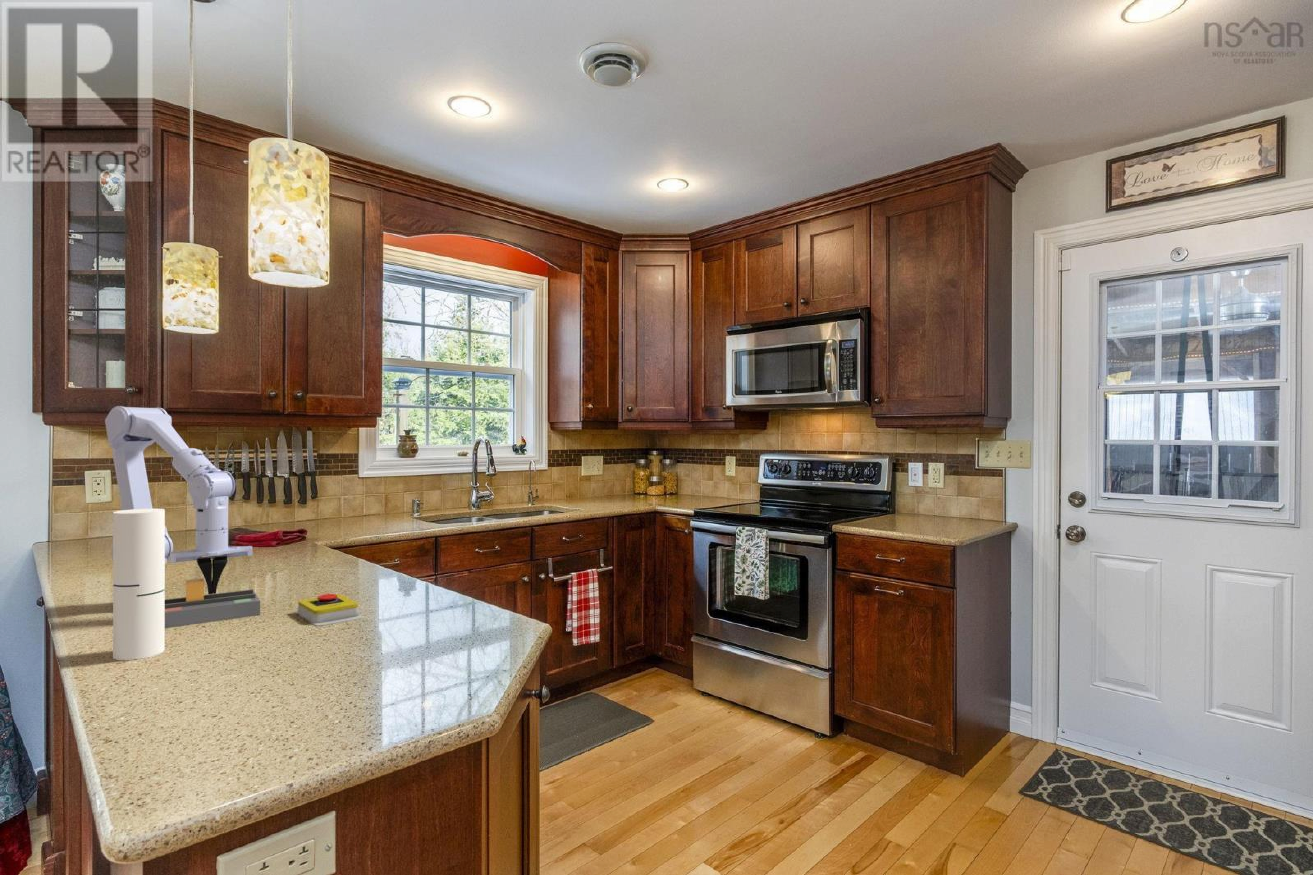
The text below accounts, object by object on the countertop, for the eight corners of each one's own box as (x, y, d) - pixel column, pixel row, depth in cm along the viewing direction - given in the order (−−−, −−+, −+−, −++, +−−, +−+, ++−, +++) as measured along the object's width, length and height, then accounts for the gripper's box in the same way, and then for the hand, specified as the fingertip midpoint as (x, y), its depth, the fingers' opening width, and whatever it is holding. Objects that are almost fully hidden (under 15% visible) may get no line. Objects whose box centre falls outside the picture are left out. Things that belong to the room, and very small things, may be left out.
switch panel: (154, 615, 141) (154, 597, 141) (253, 602, 151) (253, 586, 151) (153, 629, 131) (153, 610, 131) (260, 614, 142) (260, 597, 142)
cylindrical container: (121, 649, 119) (121, 509, 119) (169, 645, 122) (169, 508, 121) (106, 662, 112) (106, 514, 112) (158, 657, 115) (158, 512, 115)
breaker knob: (185, 601, 140) (185, 580, 140) (203, 599, 142) (203, 578, 142) (186, 604, 138) (186, 582, 138) (203, 602, 140) (203, 581, 140)
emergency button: (339, 587, 151) (365, 599, 140) (339, 606, 151) (364, 620, 140) (294, 594, 144) (317, 607, 134) (294, 614, 144) (317, 629, 134)
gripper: (170, 534, 134) (170, 601, 134) (254, 528, 143) (254, 592, 143) (169, 530, 140) (169, 594, 140) (250, 524, 148) (250, 585, 148)
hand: (212, 593), depth 142 cm, fingers closed
